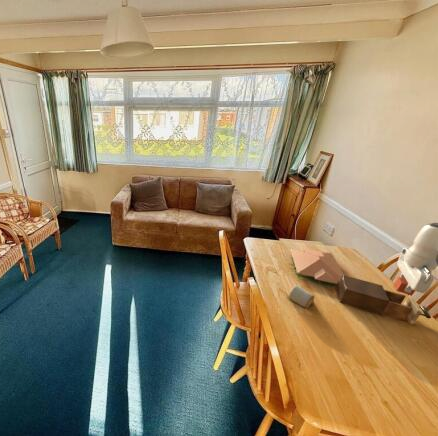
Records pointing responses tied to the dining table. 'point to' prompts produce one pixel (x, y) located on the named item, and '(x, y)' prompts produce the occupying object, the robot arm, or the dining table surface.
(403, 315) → the drawer
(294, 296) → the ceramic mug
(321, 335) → the dining table surface
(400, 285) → the block
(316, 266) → the house
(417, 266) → the robot arm
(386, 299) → the cabinet
